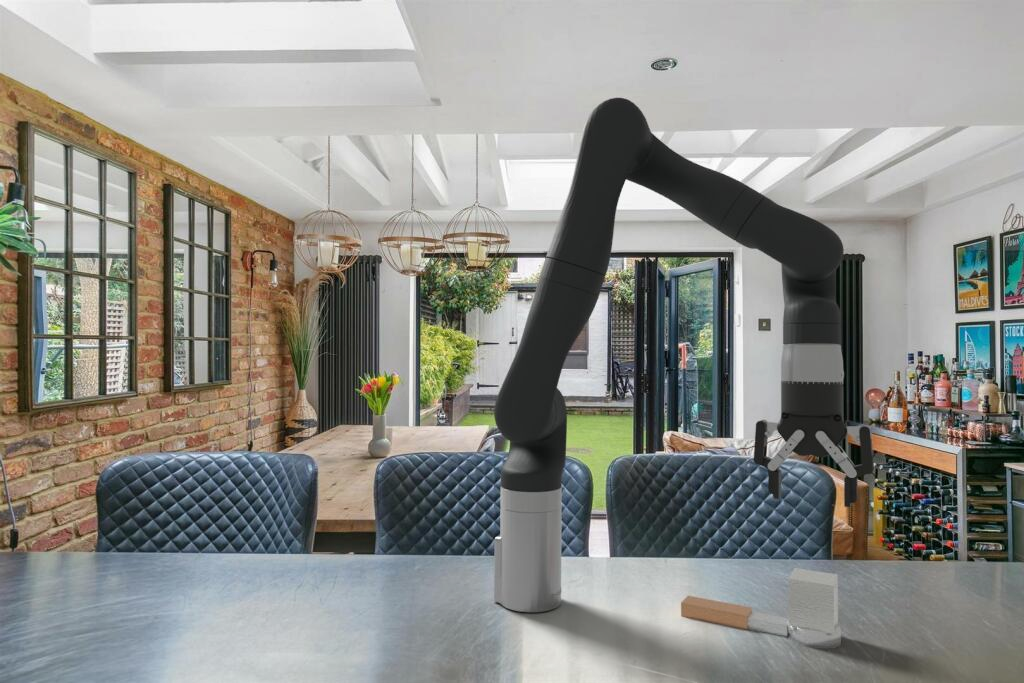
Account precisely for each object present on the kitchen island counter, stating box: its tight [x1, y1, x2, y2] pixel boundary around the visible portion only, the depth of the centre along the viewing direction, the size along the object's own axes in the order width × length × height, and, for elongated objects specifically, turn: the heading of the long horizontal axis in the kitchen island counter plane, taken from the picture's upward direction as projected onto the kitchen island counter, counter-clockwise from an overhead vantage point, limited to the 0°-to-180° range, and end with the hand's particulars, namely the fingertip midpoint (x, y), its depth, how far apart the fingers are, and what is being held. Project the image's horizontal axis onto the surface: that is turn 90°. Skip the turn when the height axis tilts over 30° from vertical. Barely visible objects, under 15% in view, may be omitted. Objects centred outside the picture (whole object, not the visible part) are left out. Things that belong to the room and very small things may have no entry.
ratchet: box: [680, 595, 842, 650], centre depth 90 cm, size 20×6×5 cm, turn 59°
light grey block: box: [787, 567, 839, 634], centre depth 86 cm, size 5×5×6 cm
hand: (812, 502), depth 87 cm, fingers open, 8 cm apart
